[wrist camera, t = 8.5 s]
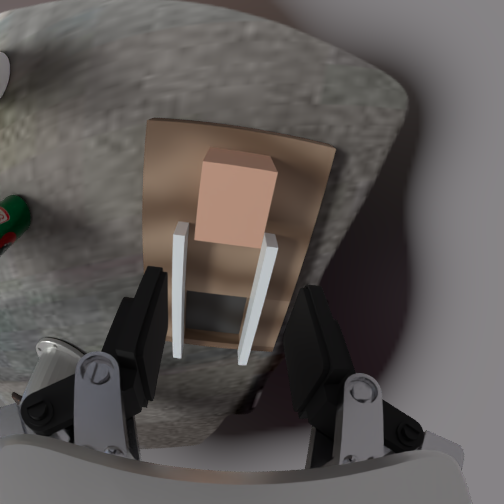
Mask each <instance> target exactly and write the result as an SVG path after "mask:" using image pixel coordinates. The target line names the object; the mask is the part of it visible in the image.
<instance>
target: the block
mask: <svg viewBox="0 0 504 504" xmlns="http://www.w3.org/2000/svg"><path fill="white" fill-rule="evenodd" d="M277 174H278V172H277V170H276V167H275V165H274V163H273V161H272V159H271V157H270V156H267V155H261V154H255V153H249V152H243V151H236V150H229V149H222V148H215V147H210V148H209V150H208V152H207V154H206V156H205V158H204V160H203V164H202V172H201V180H200V189H199V198H198V207H197V216H196V227H195V238H194V240H198V241H206V242H213V243H221V244H229V245H236V246H244V247H251V248H259V249H261V245H262V241H263V236H264V232H265V228H266V223H267V219H268V214H269V210H270V205H271V201H272V196H273V192H274V187H275V183H276V178H277Z"/></svg>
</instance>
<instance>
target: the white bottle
mask: <svg viewBox="0 0 504 504" xmlns="http://www.w3.org/2000/svg"><path fill="white" fill-rule="evenodd" d="M9 76H10V63H9V59H8V57H7V56H6V55H5V53H3V52H0V98H1V97H2V95H3V93H4V92H5V90H6V87H7V84H8V81H9Z"/></svg>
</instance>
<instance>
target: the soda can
mask: <svg viewBox="0 0 504 504" xmlns="http://www.w3.org/2000/svg"><path fill="white" fill-rule="evenodd" d="M30 221H31V216H30V210H29V207H28V205H27V204H26V202H25V201H24V200H23V199H22V198H20V197H19V196H16V195H10V196H8V197H7V198H5V199H4V200H2V201H1V202H0V257H1V255H2V254H3V253H4V252H5V251H6V250H7V249H8V248H9V247H10V246H11V245H12V244H13V243H14V242H15V241H16V240H17V239H18V238H19V237H20V236H21V235H23V234H24V233H25V232H26V231H27V230H28V228H29V226H30Z"/></svg>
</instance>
